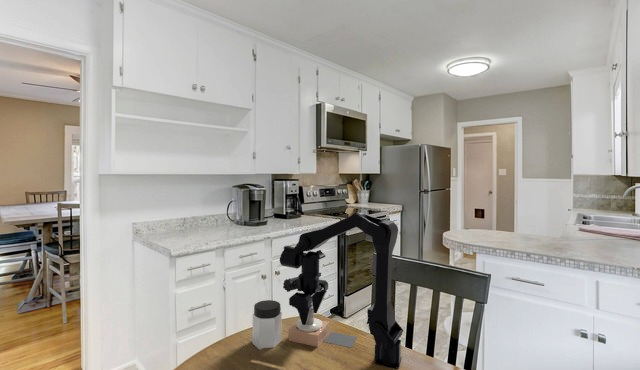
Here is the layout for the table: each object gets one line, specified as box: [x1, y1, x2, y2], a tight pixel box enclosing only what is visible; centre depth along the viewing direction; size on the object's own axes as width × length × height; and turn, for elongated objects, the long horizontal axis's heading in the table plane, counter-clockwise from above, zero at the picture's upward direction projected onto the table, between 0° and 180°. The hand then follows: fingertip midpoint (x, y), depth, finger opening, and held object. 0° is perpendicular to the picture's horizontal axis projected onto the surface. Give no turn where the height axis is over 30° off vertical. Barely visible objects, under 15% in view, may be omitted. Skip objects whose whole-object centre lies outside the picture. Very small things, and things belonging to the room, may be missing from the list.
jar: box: [251, 299, 283, 351], centre depth 99 cm, size 9×8×12 cm
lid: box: [296, 307, 323, 332], centre depth 103 cm, size 8×8×5 cm
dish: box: [288, 318, 330, 348], centre depth 103 cm, size 10×10×4 cm
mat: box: [323, 331, 358, 348], centre depth 101 cm, size 9×7×1 cm
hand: (309, 318), depth 103 cm, fingers open, 9 cm apart
